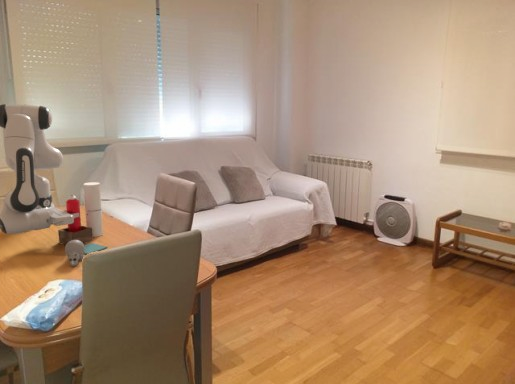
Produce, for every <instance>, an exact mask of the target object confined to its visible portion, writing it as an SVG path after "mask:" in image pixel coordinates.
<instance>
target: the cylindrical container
mask: <svg viewBox="0 0 515 384" xmlns="http://www.w3.org/2000/svg"><path fill="white" fill-rule="evenodd" d="M83 196H84V198H83V199H84V212H85V223H86V226H85V227H90V228H92V235H93V238H95V237H101V236H102V235H104V229H103V214H102V213H103V212H102V198H101V196H102V195H101V183H100V182H95V181H93V182H92V181H91V182H90V181H89V182H85V183H83Z"/></svg>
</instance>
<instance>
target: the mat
mask: <svg viewBox="0 0 515 384" xmlns="http://www.w3.org/2000/svg"><path fill="white" fill-rule="evenodd" d="M84 247H85V250H84V251H85V254H84V255H86V256H88V255H87V254H89V253H91V252H95V251H98V252H100V251H99V250H101V251H103V250H106V249H108V246H106V245H101V244H98V243H93V242H88V243H87V244H84Z"/></svg>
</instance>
